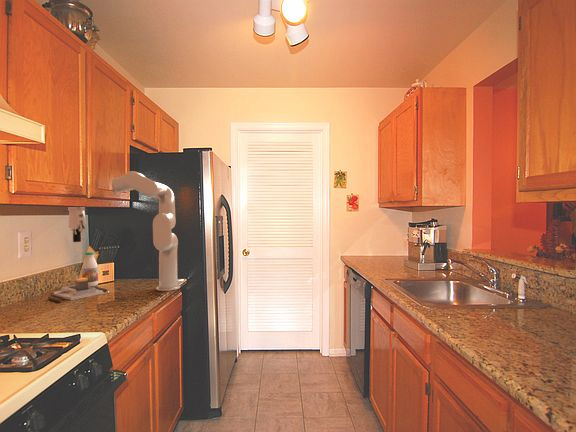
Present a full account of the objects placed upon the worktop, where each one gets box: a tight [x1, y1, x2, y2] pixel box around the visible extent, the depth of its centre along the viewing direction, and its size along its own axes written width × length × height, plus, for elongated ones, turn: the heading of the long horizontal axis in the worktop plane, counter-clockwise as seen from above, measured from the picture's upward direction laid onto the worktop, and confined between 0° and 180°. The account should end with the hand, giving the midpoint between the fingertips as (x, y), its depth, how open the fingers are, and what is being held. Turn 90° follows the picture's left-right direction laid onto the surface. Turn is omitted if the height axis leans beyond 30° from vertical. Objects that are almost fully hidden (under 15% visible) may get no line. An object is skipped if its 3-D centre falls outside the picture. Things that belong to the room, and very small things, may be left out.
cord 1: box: [48, 296, 63, 304], centre depth 152 cm, size 13×1×1 cm, turn 57°
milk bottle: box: [81, 251, 99, 287], centre depth 184 cm, size 8×8×20 cm
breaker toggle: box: [75, 277, 88, 290], centre depth 162 cm, size 4×4×7 cm
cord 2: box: [93, 285, 108, 293], centre depth 173 cm, size 13×3×1 cm, turn 57°
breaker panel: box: [53, 284, 104, 301], centre depth 165 cm, size 15×20×4 cm
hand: (77, 241), depth 171 cm, fingers closed
